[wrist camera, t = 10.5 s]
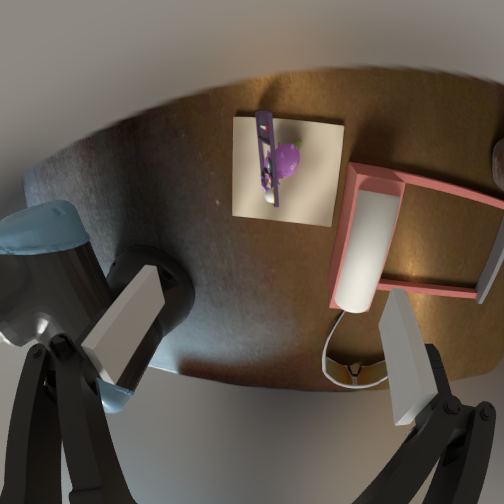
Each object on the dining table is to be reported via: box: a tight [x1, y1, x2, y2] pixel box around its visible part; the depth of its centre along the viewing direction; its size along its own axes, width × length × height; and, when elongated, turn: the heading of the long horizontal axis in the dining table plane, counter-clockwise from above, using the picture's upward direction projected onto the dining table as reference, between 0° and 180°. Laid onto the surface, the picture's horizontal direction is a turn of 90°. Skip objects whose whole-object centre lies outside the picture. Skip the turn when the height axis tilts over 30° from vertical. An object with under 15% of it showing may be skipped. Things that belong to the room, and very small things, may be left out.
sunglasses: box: [322, 310, 388, 388], centre depth 40 cm, size 14×15×5 cm
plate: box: [233, 117, 344, 227], centre depth 30 cm, size 12×12×1 cm
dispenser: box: [328, 161, 504, 313], centre depth 27 cm, size 26×16×8 cm, turn 88°
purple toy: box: [255, 110, 302, 208], centre depth 26 cm, size 7×5×9 cm
